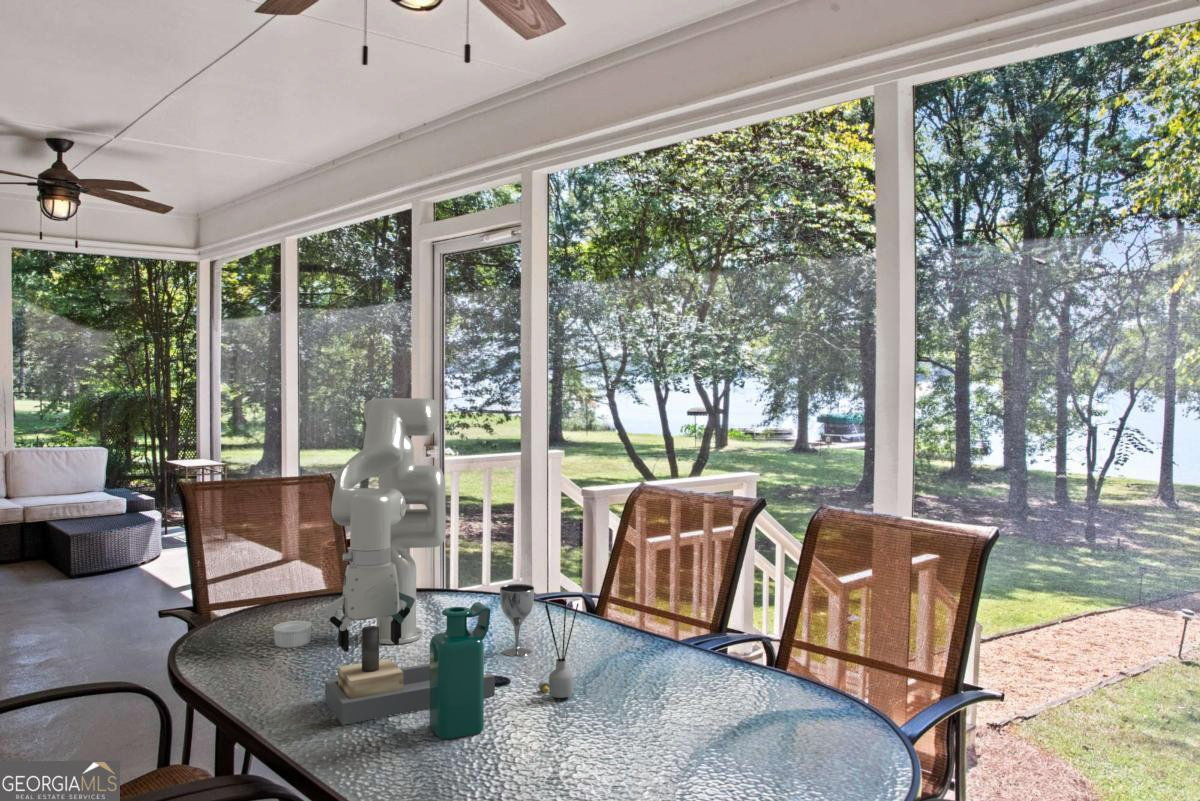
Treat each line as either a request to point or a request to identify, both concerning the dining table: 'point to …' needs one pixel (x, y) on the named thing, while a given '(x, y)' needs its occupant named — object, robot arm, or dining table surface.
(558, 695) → the reed diffuser
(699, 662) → the dining table surface
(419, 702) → the bay
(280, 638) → the ramekin
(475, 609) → the pitcher
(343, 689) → the rubber stamp
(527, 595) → the wine glass
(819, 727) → the dining table surface
